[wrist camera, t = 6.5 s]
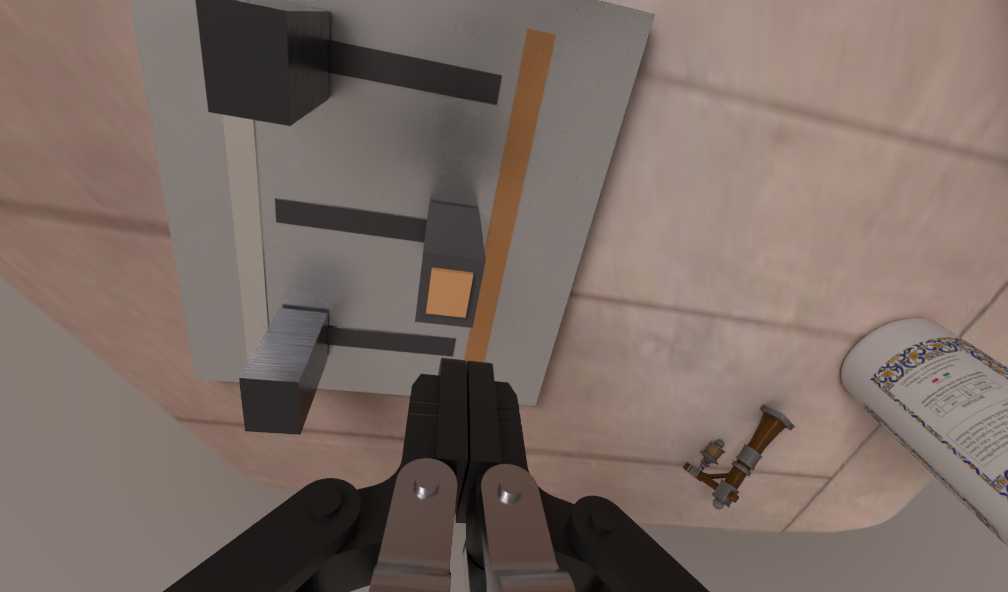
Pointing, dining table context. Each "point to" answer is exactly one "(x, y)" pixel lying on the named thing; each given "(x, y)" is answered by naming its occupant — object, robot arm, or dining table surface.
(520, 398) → the slider switch panel
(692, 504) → the dining table surface
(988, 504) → the bath foam
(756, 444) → the brown branched piece
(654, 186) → the dining table surface
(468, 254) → the block
